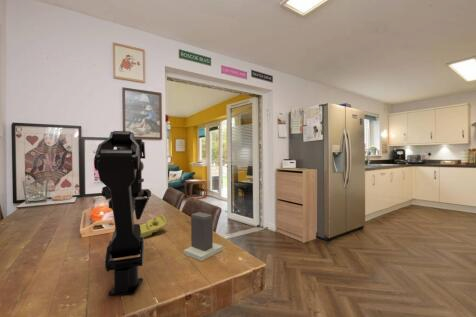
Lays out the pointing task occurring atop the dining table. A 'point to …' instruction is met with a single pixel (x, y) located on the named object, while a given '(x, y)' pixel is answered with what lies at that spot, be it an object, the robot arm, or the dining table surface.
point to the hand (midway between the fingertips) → (132, 223)
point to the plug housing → (201, 231)
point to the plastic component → (152, 226)
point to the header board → (202, 252)
